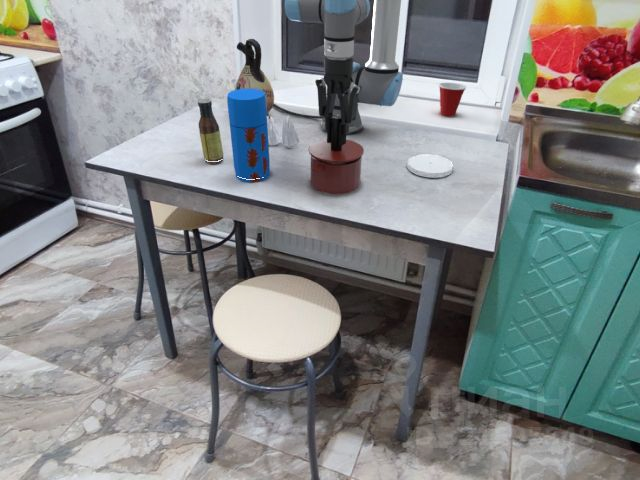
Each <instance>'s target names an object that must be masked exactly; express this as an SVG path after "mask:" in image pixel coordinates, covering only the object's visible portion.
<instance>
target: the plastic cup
mask: <svg viewBox="0 0 640 480" xmlns="http://www.w3.org/2000/svg"><path fill="white" fill-rule="evenodd" d="M438 86H439V107H440V108H439V109H440V110H439V112H440V115H441V116H442V117H446V118H447V117H448V118H452V117H455V116H456V114H457V110H458V108H459V106H460V102H461V100H462V97H463V95H464V92H465V90H467V85H464V84H461V83H457V82H439V84H438Z"/></svg>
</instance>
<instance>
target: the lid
mask: <svg viewBox="0 0 640 480" xmlns="http://www.w3.org/2000/svg"><path fill="white" fill-rule="evenodd" d="M340 122H342V120H341V115H333V116H331V143H327V138H324V139H320V140H317V141H315V142H312V143H311V144H310V145H309V146H308V154H309V155H310V157H311V156H312V157H314V158H316V159H318V160H321V161H325V162H333V163H342V162H349V161H353V160H356V159H358V158H360V157H361V156H362V157H363V155H364V152H365V149H364V147H363V146H362V144H360V143H359V142H356V141H354V140H350V139H346V144H344V145H342V146H338V144H339V123H340Z"/></svg>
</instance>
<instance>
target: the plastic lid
mask: <svg viewBox="0 0 640 480" xmlns="http://www.w3.org/2000/svg"><path fill="white" fill-rule="evenodd" d="M406 167H407V169H408V171H410V172H411V173H412V174H415V175H417V176H419V177H424V178H429V179H430V178H433V179H434V178H435V179H438V178H440V179H441V178H445V177H447V176H449V175H451V174H452V173H453V170H454V164H453V162H452V161H451V160H450V159H449V158H446V157H444V156H441V155H437V154H432V153H431V154H429V153H428V154H427V153H423V154H416V155H413V156H411V157H409V158H408V160H407V165H406Z"/></svg>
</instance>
